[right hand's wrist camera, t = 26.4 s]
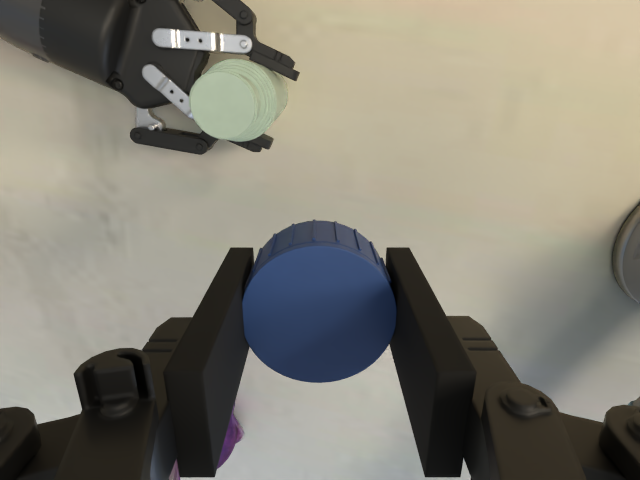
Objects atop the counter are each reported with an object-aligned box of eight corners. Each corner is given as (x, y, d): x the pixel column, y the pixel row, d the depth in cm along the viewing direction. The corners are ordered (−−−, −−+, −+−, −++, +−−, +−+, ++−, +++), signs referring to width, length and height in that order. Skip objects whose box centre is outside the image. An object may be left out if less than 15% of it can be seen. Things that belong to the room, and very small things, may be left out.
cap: (264, 203, 14) (254, 226, 11) (404, 236, 14) (420, 264, 12) (239, 326, 15) (226, 368, 13) (365, 352, 16) (373, 396, 13)
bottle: (290, 68, 38) (273, 60, 21) (285, 124, 40) (266, 158, 23) (235, 61, 38) (174, 48, 21) (233, 118, 39) (174, 148, 23)
